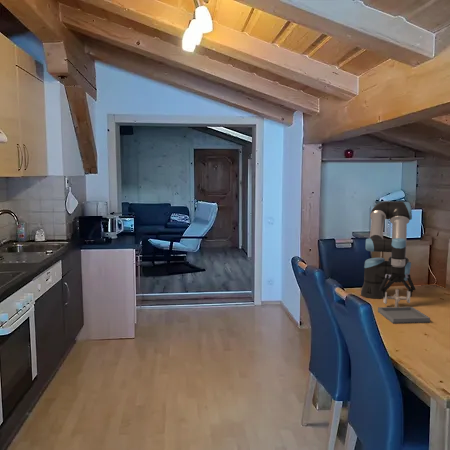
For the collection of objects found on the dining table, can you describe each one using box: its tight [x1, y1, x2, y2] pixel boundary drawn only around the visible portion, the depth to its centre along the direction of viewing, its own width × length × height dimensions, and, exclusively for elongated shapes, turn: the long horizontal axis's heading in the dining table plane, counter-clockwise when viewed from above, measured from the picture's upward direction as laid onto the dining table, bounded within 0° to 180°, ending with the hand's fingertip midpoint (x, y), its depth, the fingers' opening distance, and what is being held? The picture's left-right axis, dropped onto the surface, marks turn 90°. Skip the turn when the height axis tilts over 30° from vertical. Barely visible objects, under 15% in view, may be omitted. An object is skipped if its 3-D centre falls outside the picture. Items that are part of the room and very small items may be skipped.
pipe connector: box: [387, 288, 407, 307], centre depth 262 cm, size 10×10×10 cm
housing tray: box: [377, 306, 431, 325], centre depth 243 cm, size 20×19×2 cm
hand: (396, 302), depth 262 cm, fingers open, 13 cm apart
